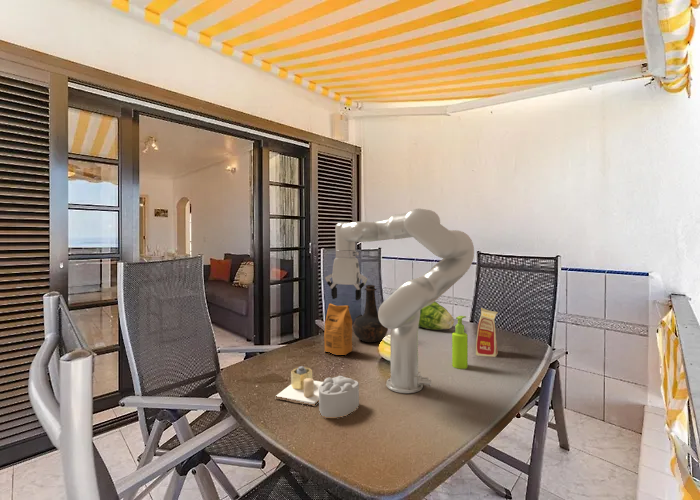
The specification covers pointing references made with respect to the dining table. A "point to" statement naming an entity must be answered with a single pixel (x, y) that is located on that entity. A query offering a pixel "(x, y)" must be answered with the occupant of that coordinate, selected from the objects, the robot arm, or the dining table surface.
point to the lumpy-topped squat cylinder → (338, 396)
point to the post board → (307, 394)
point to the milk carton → (486, 334)
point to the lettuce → (435, 317)
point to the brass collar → (299, 378)
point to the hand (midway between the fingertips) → (346, 299)
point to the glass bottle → (369, 320)
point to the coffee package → (338, 330)
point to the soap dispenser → (459, 346)
